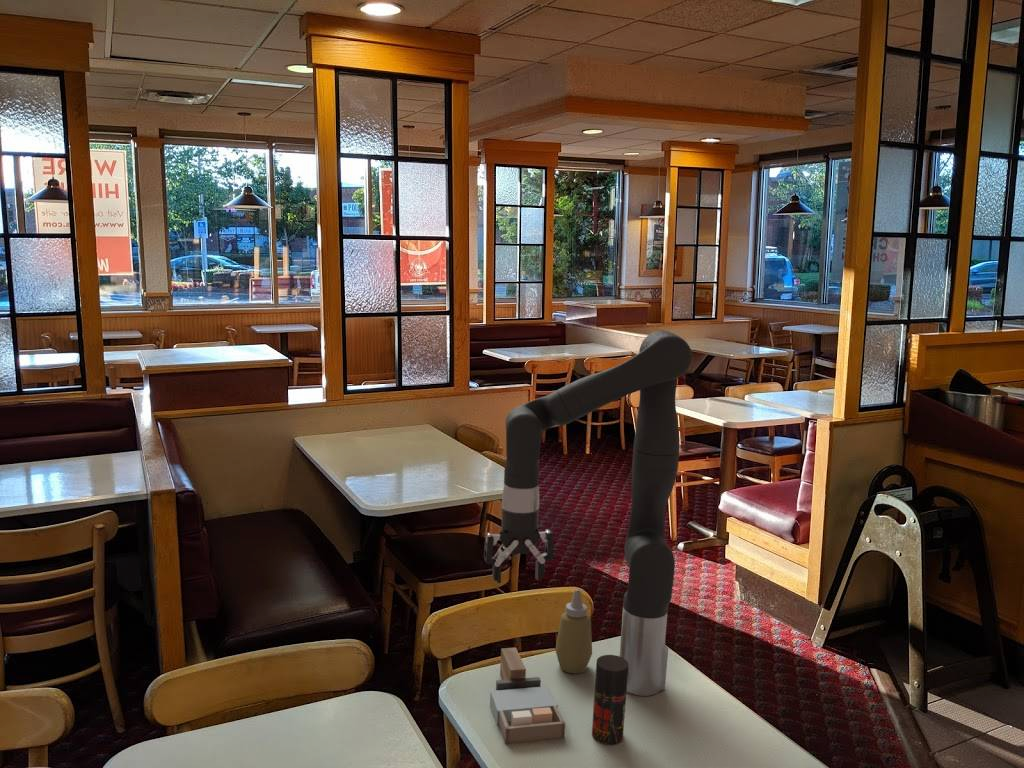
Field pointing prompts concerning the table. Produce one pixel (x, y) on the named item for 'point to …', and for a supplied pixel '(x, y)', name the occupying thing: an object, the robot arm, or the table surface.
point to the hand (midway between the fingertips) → (517, 580)
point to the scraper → (514, 672)
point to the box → (532, 729)
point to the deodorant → (609, 699)
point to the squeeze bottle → (574, 636)
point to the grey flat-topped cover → (520, 700)
